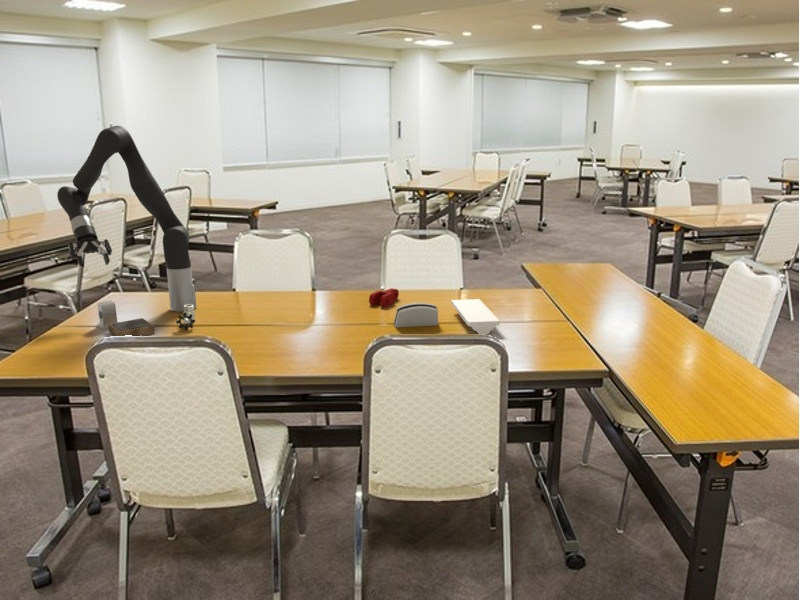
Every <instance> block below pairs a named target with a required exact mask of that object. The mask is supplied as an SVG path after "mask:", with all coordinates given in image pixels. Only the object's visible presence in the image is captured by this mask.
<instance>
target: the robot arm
mask: <svg viewBox="0 0 800 600" xmlns="http://www.w3.org/2000/svg"><path fill="white" fill-rule="evenodd" d="M117 153H118V154H119V155H120V157H121V159H122V160H123V161H124V164H125V166H126V169H127V173H128V180H129V185H130V188H131V190H132V191H133V193H134V195H135V196H136V198H137V199H138V201H139V202H140V204H141V205H142V206H143V207H144V209H146V211H147V212H148V213H149V214H150V215H151V216H152V217H153V218H154V219H155V220H156V222H157V224H158V225H159V226H160V228H161V230H162V232H163V235H162V248H163V256H164V261H165V265H166V275H167V286H168V287H167V288H168V296H169V307H170V308H169V309H170V311H172V312H178V313H180V312H182V313H183V312H184V305H188V304H191V305H194V310H195V309H197V298H196V289H195V288H196V287H195V285H194V284H193V274H192V273H193V272H192V262H191V258H190V254H189V253H190V252H189V242H190V238H191V237H190V233H189V231H188V229H187V228H186V227H185V226H184V225H183V223H182V222H181V221H180V220H181V219H179V218H178V216H177V215H176V214H175V212H174V211H173V209H172V206H171V205H170V202H169V201H168V199H167V197H166V196H165V194H164V192H163V190H162V189H161V186H159V184H158V182H157V180H156V178H155V177H154V176H153V175H152V173H151V171H150V169H149V167H148V166H147V164H146V162H145V161H144V159H143V158H142V156H141V154H140V152H139V149H138V148H137V146H136V143H135V141H134V139H133V137H132V135H131V133H130V132H129V131H128V130H127V129H126V128H125V127H124V126H121V125H114V126H110V127H107V128H106V127H105V128H104V129H103V130H101V131H100V132H99V133H98V135H97V137H96V140H95V142H94V145H93V147H92V149H91V151H90V153H89V154H88V157H87V158H86V160H85V161H84V163H83V164H82V165H81V167H80V169H78V171H77V173H76V174H75V176H74V178H73V179H72V183H73V186H74V187H72V186H61V187H60V188H59V189H58V191H57V194H56V195H57V201H58V203H59V205H60V206H61V208H62V209H63V210H64V211H65V213H66V215H68V216H67V217H68V218H69V222H70V225H71V230H72V233H73V235H74V239H75V243H73V242H72V241H69V242H68V251H69V256H70V259H71V260H76V261H77V263H78V265H79V267H81V268H84V267H85V262H84V259H83V255H84V254H86V255H89V254H95V253H96V254H98V255H101V256H102V258H103V260H104V263H105V266H108V265H109V263H110V260H111V259H110V257H109V256H111V255H112V253H113V249H112V247H111V244H110V242H109V240H108V239H104V240H99V239H98V235H97V232H96V228H95V226H94V223H93V222H92V221H93V220H91V219H92V218H91V217H90V213H89V211H88V208H86V207H85V205H87V203H88V201H89V196H90V194H91V190H92V188H93V187H94V185H95V184H96V183H97V181H98V180H99V179H100V177H101V174H102V171H103V168H104V165H105V163H106V162H107V161H108V160H109V159H110V158H111V157H112V156H114V154H117ZM76 248H77V249H78V250H79V251H78V252H77V253H75V249H76Z"/></svg>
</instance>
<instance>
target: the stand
mask: <svg viewBox="0 0 800 600" xmlns="http://www.w3.org/2000/svg"><path fill="white" fill-rule="evenodd" d="M117 322H118V323H112V324H108V328H109V329H108V333H109V334H111V336H113V337H114V336H125V335H132V336H140V335H146V336H149V335H151V336H152V335H155V325H153V324H152V323H151V322H149V321H148V320H146V319H145V318H143V317H141V318H140V317H139V318H136V319H130V320H124V321H117Z"/></svg>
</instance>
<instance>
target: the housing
mask: <svg viewBox="0 0 800 600" xmlns="http://www.w3.org/2000/svg"><path fill="white" fill-rule="evenodd" d="M96 303H97V311H98V319H99V323H96V326H97V327H98V328H99V329H100V330H101V331H106V330H108V331H109V328H108V324H112V323H118V322H119V321H118V317H117V309H116V308H117V307H116V303H115V302H114V301H112V300H108V301H102V302H101V301H100V302H96Z"/></svg>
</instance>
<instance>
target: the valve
mask: <svg viewBox="0 0 800 600" xmlns="http://www.w3.org/2000/svg"><path fill="white" fill-rule="evenodd" d="M182 313H183V315H182V314H179V315H177V318H178V319H179V320H178V319H177V320H176V321H175V323H176V324H179V325H178V329H182V328H184V330H185V331H188V330H189V327H190V329H193V328H194V323H196V319H195V317H196V312H195V309H194V305H191V304H188V305H184V311H183V312H182ZM182 322H183V323H182ZM184 324H185V325H184Z"/></svg>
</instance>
